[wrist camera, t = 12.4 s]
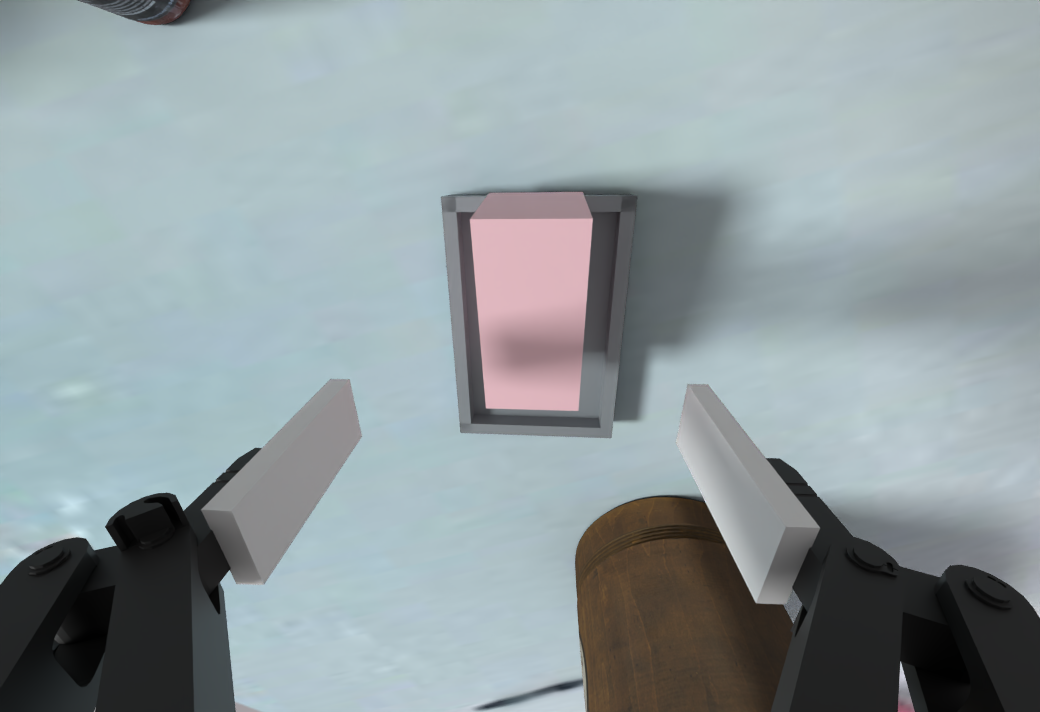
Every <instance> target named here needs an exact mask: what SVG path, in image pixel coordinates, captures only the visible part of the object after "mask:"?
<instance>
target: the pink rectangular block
mask: <svg viewBox="0 0 1040 712" xmlns="http://www.w3.org/2000/svg"><path fill="white" fill-rule="evenodd" d="M592 222H593V218H592V215H591V212H590V210H589V207H588V204H587V202H586V199H585V197H584V194H583V192H512V193H489V194H488V195H487V196H486V198H485V199H484V201H483V202H482V203H481V205H480V206H479V207H478V209H477V210H476V211H475V213H474V214H473V216H472V217H471V218H470V227H471V238H472V250H473V262H474V274H475V286H476V297H477V309H478V321H479V333H480V344H481V356H482V368H483V380H484V391H485V403H486V408H489V409H526V410H562V411H578V409H579V396H580V383H581V369H582V356H583V343H584V329H585V316H586V303H587V289H588V276H589V263H590V249H591V236H592Z"/></svg>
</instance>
